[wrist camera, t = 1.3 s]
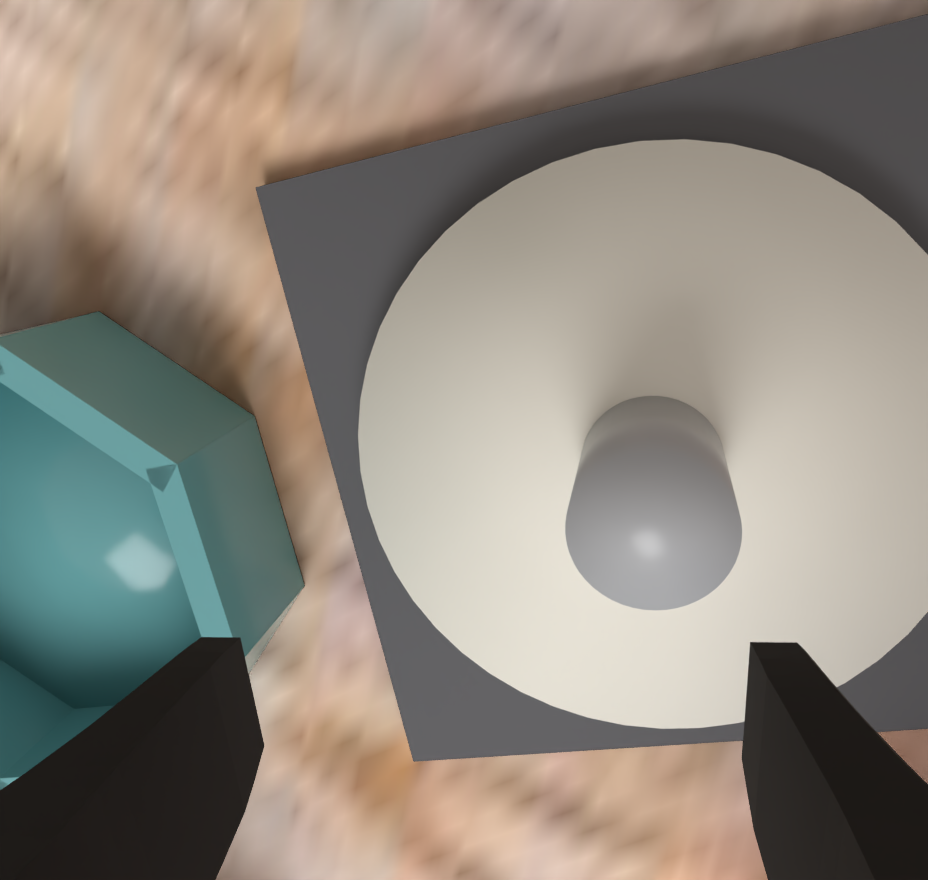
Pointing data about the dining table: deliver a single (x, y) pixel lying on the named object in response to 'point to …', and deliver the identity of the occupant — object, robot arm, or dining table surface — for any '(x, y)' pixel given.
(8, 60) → the dining table surface
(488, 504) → the lid
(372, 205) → the mat
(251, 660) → the bowl
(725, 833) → the dining table surface
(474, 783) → the dining table surface
